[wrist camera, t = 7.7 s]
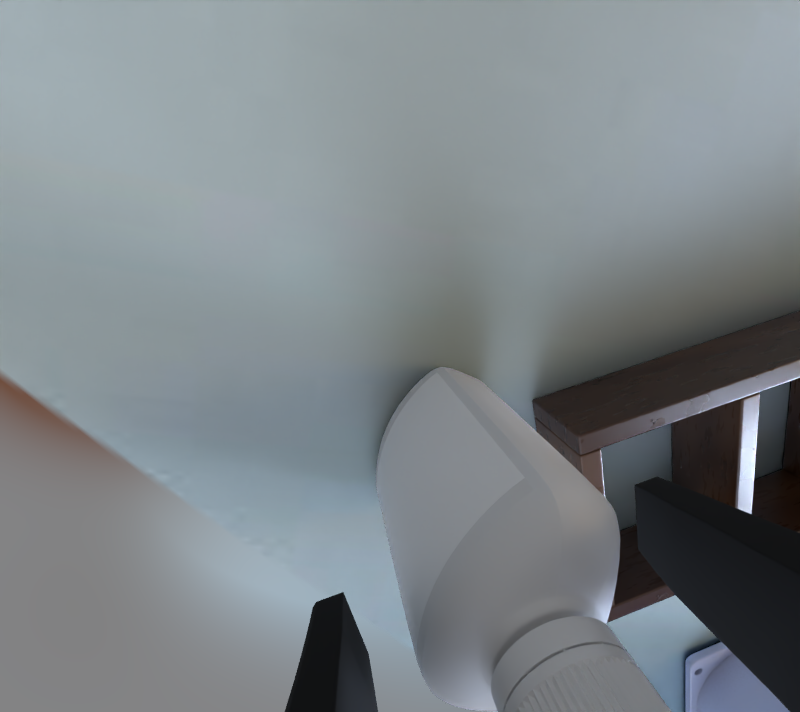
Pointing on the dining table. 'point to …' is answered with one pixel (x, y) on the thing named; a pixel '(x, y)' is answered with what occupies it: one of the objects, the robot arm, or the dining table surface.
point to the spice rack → (688, 431)
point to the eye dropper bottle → (502, 558)
